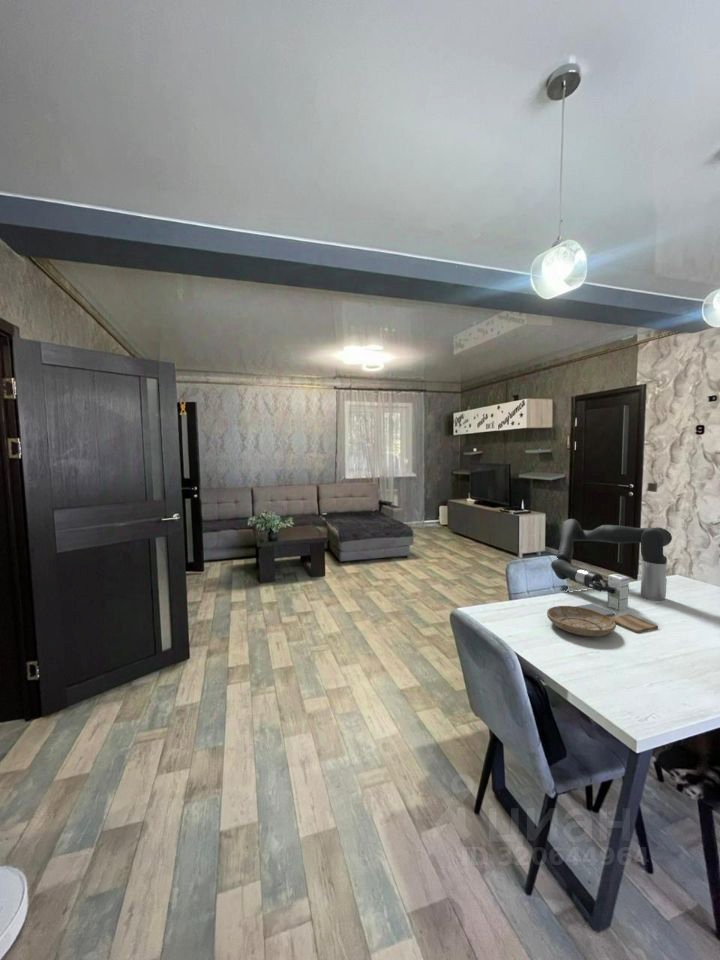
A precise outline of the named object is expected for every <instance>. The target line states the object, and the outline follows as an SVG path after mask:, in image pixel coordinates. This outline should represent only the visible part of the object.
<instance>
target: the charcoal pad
mask: <svg viewBox="0 0 720 960" xmlns="http://www.w3.org/2000/svg"><path fill="white" fill-rule="evenodd" d="M575 607H581V608H586V609H590V610H594V611H597V612H600V613H602V614H604V615H607V616H608V617H615V616H616V613H615V612H613V611H611V610H608V609H606V608H603V607H602V606H598V605H597V604H594V603H588V604H581V605H576V606H575Z"/></svg>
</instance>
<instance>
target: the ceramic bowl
mask: <svg viewBox="0 0 720 960" xmlns="http://www.w3.org/2000/svg"><path fill="white" fill-rule="evenodd" d="M546 615H547V618H548V620H549V621H550V622H551V623H552V624H553V625H555V626H556V627H558V628H559V629H561V630H563V631H565V632H568V633H571V634H574V635H577V636H582V637H601V636H605V635H609V634H611V633H612V632H614V631H615V630H616V628H617V624H615V621H614V620H613V619H611V618H610V617H611V616H609V617H608V616H607V615H604V614H602V613H600V612H597V611H594V610H590V609H586V608H581V607H575V606H574V605H573V606H572V605H557V606H551V607H550V608H549V609H547V611H546Z"/></svg>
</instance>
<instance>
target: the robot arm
mask: <svg viewBox="0 0 720 960" xmlns="http://www.w3.org/2000/svg"><path fill="white" fill-rule="evenodd" d="M672 540H673V536H672V534H671V532H670V531H669V530H667V529H665V528H663V527H659V526H658V527H656V526H655V527H633V526H625V525H617V524H616V525H614V524H602V525H600V526H598V527H596V528H594V529H591V530H588V529H587V530H586V529H583V528H582V526H581V524H580V523H579V521H578V520H576V519H575V518H567V519H566V520H564V521H563V522H562V523H561V531H560V543H559V548H558V551H557V554H556V559H555V560H553V561H552V562H551V566H550V567H551V569H552V571H553V572H554V574H555V575H556V577H557V578H558V579H560V580H564V581H565V580H567V579H568V580H570V581H572V582H575V583H577V584H580V585H581V586H584V587H587V588H590V589H592V590H595V591H597V592H602V591H603V592H606V593H608V592H609V593H612V594H615V589H613V588H611V587H608V578H607V579H606V578H603V575H601V574H600V573H597V572H594V571H591V570H587V569H584V568H583V569H582V568H579V567H577V566H575V565H573V564H572V560H573V554H574V542H575V541H578V542H584V541H585V542H588V541H589V542H600V543H610V544H633V543H636V544H638V543H639V544H640V555H641V557H642V559H641V560H642V561H641V578H640V579H641V580H640V596H641V597H643V598H645V599H647V600H653V601H664V600H665V599H666V597H667V582H668V581H667V580H668V578H667V565H668V563H667V562H668V561H667V560H668V557H666V556H665V555H664V547H667V546H668V545H669V544H670V543H671V542H672ZM557 558H558V559H557ZM629 591H630V587H629V588H628V592H629Z"/></svg>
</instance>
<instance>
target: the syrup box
mask: <svg viewBox="0 0 720 960" xmlns="http://www.w3.org/2000/svg"><path fill="white" fill-rule="evenodd" d="M607 580H608V587H611V588H613V589H615V594H612V593H609V592H607V603H606V604H607V607H608V608H610V609H613V610H615V611H619V612H621V611H626V610H628V608H629V604H628V603H629V591H628V588H629V589H630V586H629V584H630V578H629V576H625V575H622V574H618V573H613V574H608V578H607Z"/></svg>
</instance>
